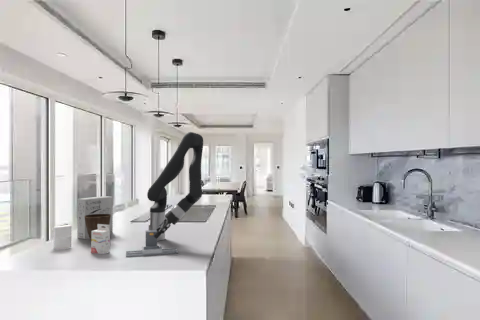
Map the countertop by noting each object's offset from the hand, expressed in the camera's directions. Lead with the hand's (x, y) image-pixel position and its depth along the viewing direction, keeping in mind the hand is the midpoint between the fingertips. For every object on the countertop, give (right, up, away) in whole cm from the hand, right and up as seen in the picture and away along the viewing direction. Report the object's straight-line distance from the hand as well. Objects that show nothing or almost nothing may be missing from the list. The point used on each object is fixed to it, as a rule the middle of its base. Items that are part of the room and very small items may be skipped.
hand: (154, 236), depth 195 cm
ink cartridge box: (-27, -7, -8) cm, 29 cm away
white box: (-53, -7, +3) cm, 53 cm away
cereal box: (-48, -8, +36) cm, 60 cm away
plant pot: (-39, -7, +17) cm, 43 cm away
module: (-2, -7, 0) cm, 7 cm away
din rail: (+1, -7, -10) cm, 12 cm away
